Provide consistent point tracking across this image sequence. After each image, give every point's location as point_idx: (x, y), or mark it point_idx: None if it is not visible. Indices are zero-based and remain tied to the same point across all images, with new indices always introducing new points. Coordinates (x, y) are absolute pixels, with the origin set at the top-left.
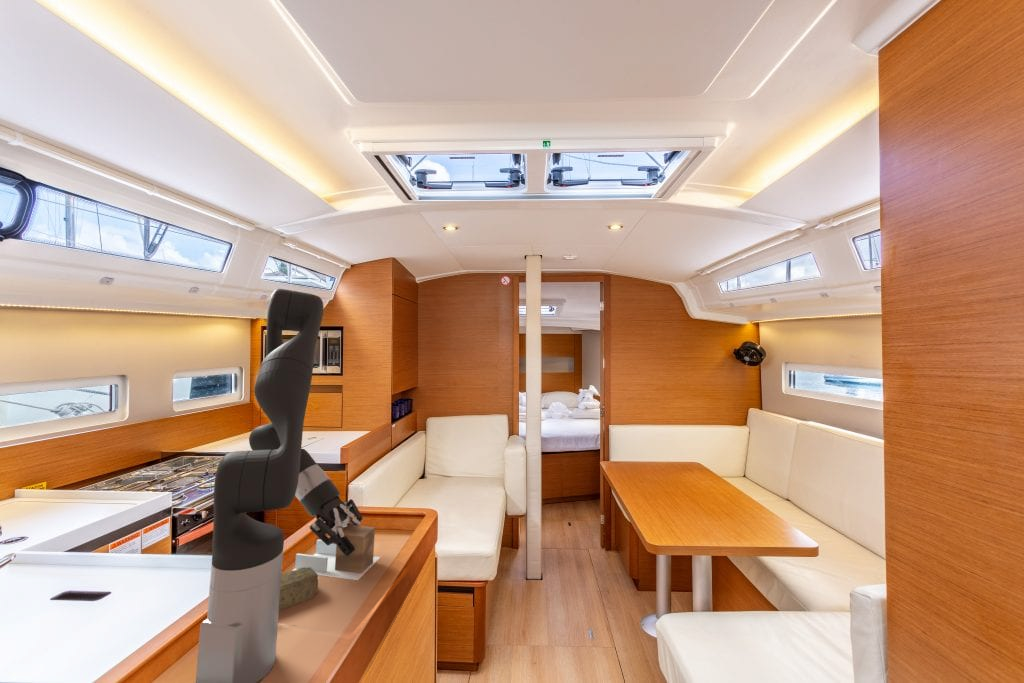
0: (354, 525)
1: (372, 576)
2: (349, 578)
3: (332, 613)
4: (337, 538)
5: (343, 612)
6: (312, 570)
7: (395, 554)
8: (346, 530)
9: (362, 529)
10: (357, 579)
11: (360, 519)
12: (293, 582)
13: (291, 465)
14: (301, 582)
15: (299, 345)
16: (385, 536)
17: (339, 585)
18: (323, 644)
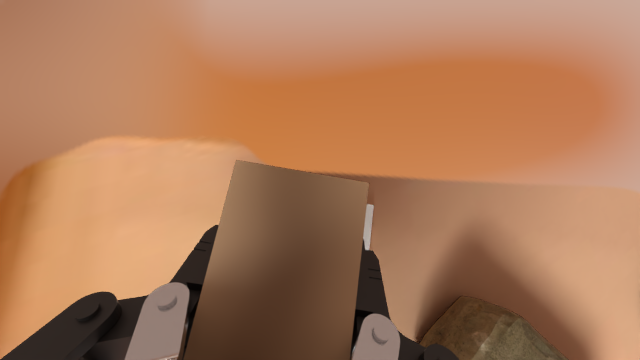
0: (202, 314)
1: (334, 176)
2: (367, 233)
3: (499, 216)
4: (409, 345)
5: (490, 191)
6: (488, 357)
7: (204, 148)
8: (291, 337)
9: (268, 228)
10: (370, 206)
11: (116, 302)
12: None
13: None
14: (561, 354)
15: None
16: (53, 221)
17: (388, 253)
18: (586, 190)
